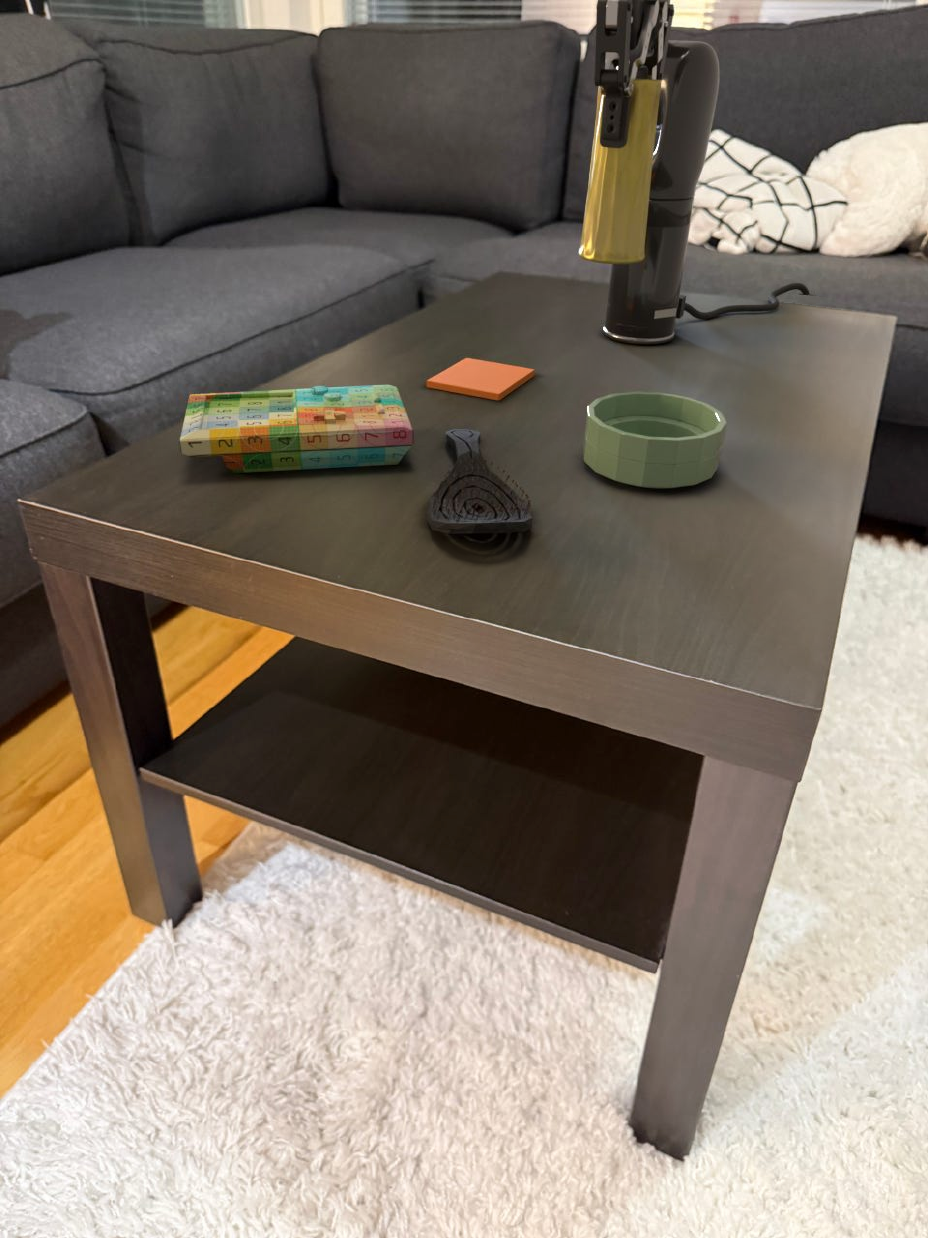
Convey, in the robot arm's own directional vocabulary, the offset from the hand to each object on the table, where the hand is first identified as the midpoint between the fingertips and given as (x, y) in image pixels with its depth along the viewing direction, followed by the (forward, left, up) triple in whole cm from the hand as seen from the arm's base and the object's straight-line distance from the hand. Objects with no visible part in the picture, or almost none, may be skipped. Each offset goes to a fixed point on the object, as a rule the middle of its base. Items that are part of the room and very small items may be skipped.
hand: (623, 143), depth 76 cm
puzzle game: (+21, -22, -26) cm, 40 cm away
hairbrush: (+21, -3, -26) cm, 34 cm away
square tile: (-6, -16, -25) cm, 30 cm away
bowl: (+8, +8, -25) cm, 28 cm away
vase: (0, 0, -10) cm, 10 cm away
